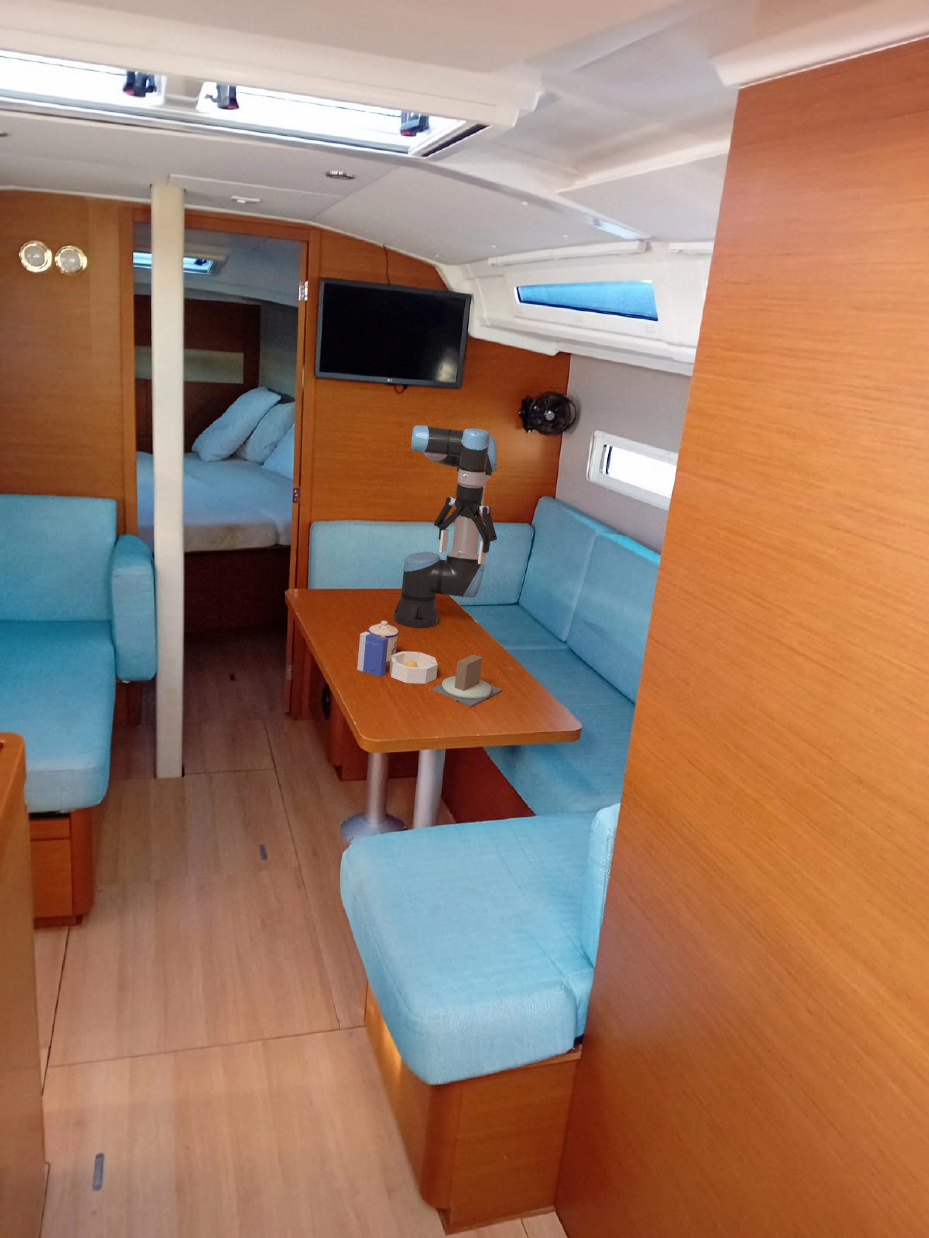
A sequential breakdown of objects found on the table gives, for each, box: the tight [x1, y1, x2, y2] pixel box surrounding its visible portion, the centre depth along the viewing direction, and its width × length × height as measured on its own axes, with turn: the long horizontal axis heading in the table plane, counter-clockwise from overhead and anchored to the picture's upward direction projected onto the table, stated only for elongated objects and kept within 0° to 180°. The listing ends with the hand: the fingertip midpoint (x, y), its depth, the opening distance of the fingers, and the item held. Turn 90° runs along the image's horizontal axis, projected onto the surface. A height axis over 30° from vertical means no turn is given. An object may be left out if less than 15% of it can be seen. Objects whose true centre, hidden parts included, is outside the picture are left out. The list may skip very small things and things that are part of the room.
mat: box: [430, 683, 503, 708], centre depth 265 cm, size 16×14×1 cm
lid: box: [441, 654, 492, 700], centre depth 263 cm, size 14×14×9 cm
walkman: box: [356, 631, 388, 677], centre depth 267 cm, size 8×3×12 cm, turn 64°
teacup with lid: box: [367, 620, 400, 662], centre depth 281 cm, size 12×9×12 cm
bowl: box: [388, 650, 439, 685], centre depth 270 cm, size 13×13×5 cm
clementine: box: [405, 661, 418, 667], centre depth 270 cm, size 4×4×4 cm
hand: (461, 557), depth 269 cm, fingers open, 13 cm apart
